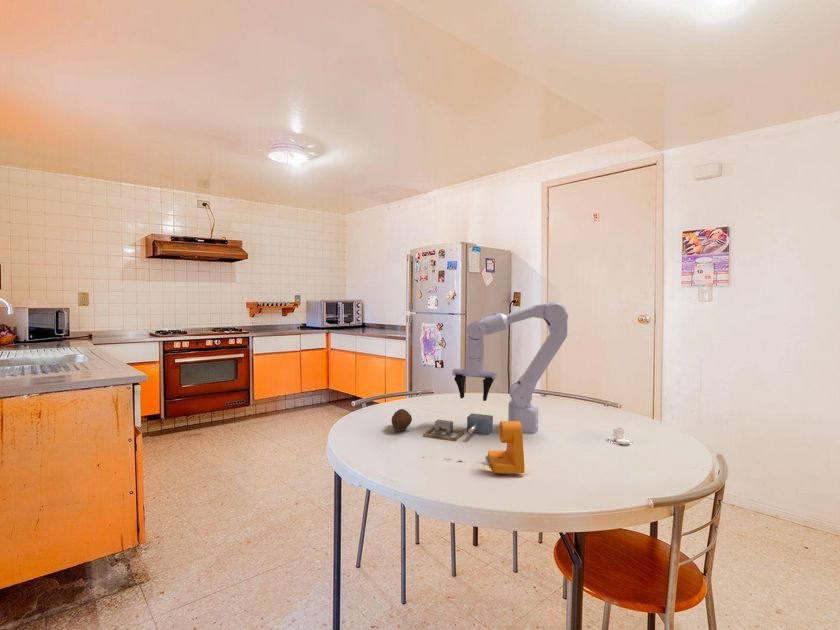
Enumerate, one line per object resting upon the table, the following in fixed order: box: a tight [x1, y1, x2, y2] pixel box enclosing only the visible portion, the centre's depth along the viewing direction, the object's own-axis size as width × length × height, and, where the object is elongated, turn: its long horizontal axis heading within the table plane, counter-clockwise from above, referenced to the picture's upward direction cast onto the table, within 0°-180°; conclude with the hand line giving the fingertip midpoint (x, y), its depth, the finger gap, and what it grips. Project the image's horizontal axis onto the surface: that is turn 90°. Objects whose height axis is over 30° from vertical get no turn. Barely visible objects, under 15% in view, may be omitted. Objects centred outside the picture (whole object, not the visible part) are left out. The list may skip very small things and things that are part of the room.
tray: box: [422, 426, 465, 442], centre depth 134 cm, size 10×8×2 cm
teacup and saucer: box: [608, 427, 633, 446], centre depth 134 cm, size 9×8×4 cm
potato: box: [391, 408, 413, 432], centre depth 143 cm, size 7×12×7 cm, turn 3°
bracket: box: [487, 420, 525, 474], centre depth 111 cm, size 11×7×12 cm, turn 1°
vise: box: [466, 412, 494, 435], centre depth 135 cm, size 7×15×6 cm, turn 157°
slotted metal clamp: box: [434, 419, 454, 437], centre depth 134 cm, size 5×2×5 cm, turn 66°
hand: (473, 399), depth 143 cm, fingers open, 7 cm apart
